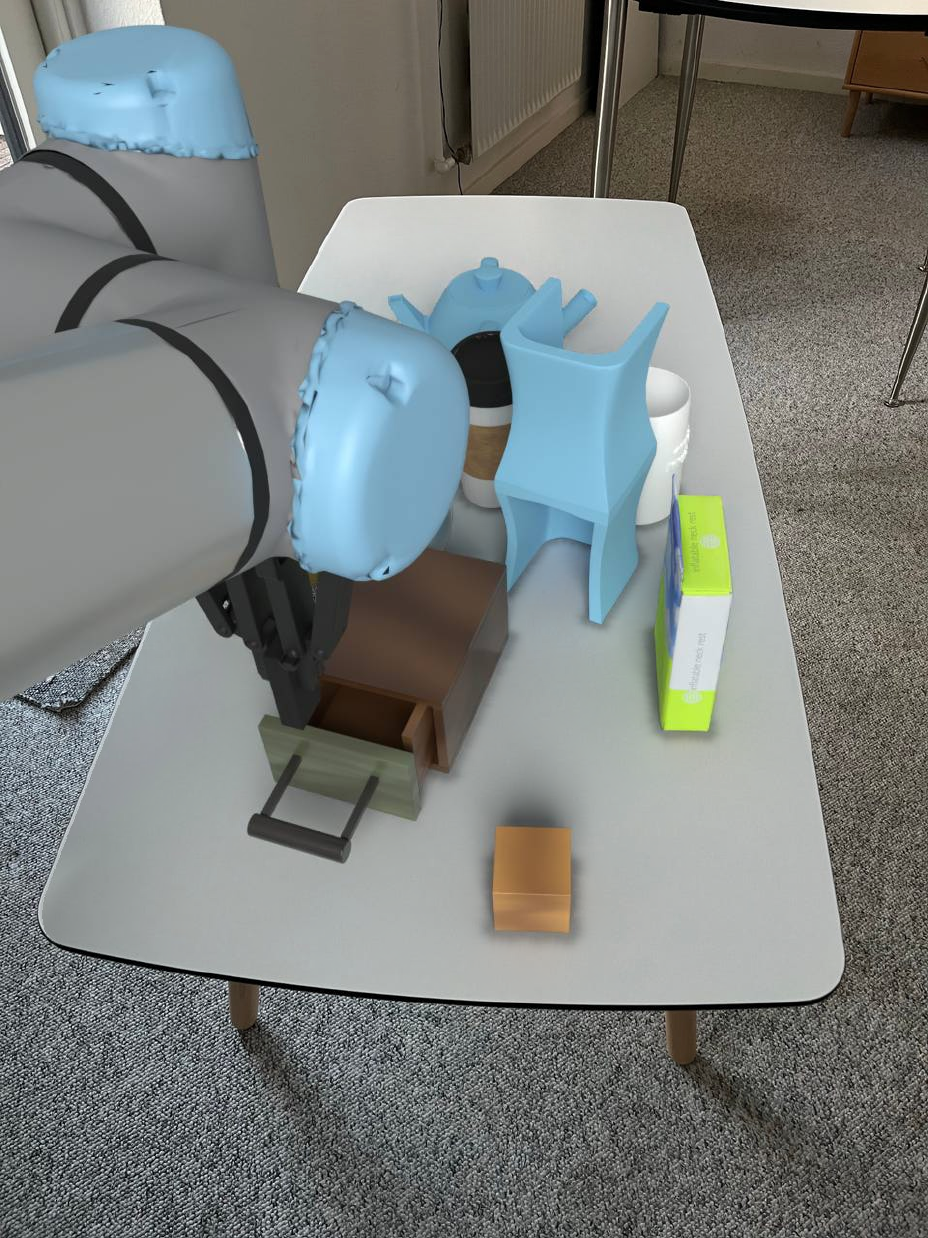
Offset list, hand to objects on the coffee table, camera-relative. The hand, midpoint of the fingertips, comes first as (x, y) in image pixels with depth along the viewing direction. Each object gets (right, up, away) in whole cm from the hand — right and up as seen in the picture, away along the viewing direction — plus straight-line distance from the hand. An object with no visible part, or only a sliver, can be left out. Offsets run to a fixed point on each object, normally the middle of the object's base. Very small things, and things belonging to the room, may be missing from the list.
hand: (301, 711), depth 67 cm
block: (+15, -13, +6) cm, 21 cm away
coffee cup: (+13, +18, +36) cm, 43 cm away
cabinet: (+6, 0, +20) cm, 21 cm away
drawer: (+2, -5, +13) cm, 14 cm away
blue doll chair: (+20, +10, +28) cm, 36 cm away
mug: (+27, +19, +36) cm, 49 cm away
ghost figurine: (+5, +12, +31) cm, 33 cm away
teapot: (+14, +34, +51) cm, 63 cm away
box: (+28, +1, +19) cm, 33 cm away
